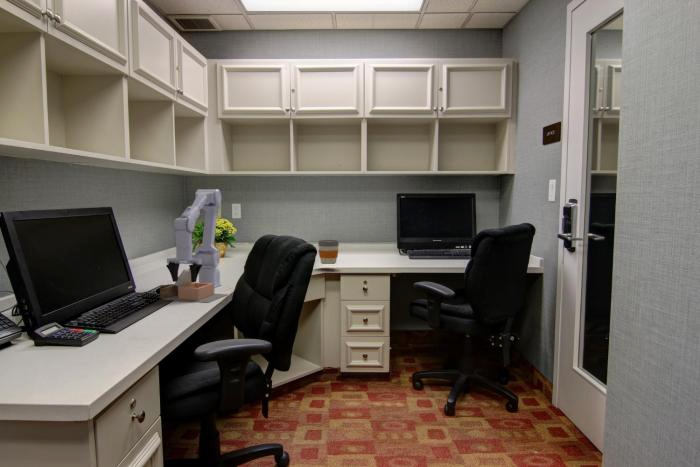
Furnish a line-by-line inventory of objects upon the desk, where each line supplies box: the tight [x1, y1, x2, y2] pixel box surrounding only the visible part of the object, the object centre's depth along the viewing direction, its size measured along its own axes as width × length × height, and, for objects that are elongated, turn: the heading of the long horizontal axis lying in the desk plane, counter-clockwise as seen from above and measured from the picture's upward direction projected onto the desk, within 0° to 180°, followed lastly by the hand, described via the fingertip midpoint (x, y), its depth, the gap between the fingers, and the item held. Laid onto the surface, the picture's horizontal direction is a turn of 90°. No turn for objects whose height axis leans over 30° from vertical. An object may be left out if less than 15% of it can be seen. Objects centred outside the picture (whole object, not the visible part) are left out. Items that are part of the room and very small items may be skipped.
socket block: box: [178, 281, 215, 300], centre depth 162 cm, size 10×9×4 cm
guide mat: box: [163, 293, 229, 304], centre depth 163 cm, size 14×24×1 cm, turn 76°
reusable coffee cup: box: [317, 239, 339, 264], centre depth 248 cm, size 12×12×15 cm
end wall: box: [159, 283, 178, 300], centre depth 165 cm, size 13×2×4 cm, turn 166°
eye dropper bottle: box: [174, 268, 192, 287], centre depth 164 cm, size 4×6×12 cm
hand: (184, 281), depth 162 cm, fingers open, 7 cm apart
